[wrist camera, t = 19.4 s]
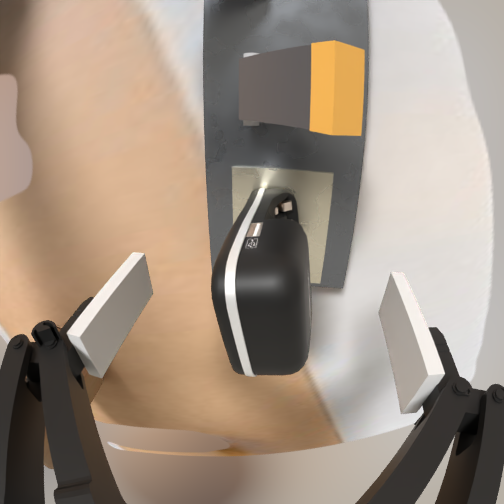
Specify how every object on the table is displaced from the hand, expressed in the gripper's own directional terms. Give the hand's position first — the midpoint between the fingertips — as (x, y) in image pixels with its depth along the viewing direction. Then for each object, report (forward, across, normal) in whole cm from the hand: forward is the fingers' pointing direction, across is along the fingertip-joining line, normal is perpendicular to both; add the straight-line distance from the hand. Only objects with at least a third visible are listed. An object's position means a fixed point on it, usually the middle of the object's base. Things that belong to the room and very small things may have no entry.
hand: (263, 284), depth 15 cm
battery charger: (+8, +1, 0) cm, 8 cm away
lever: (+7, -2, +10) cm, 12 cm away
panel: (+10, 0, +8) cm, 13 cm away
